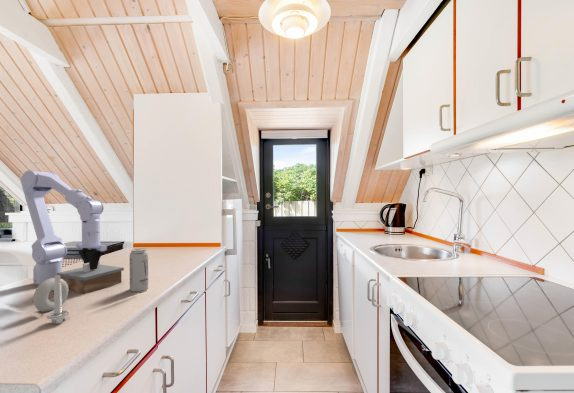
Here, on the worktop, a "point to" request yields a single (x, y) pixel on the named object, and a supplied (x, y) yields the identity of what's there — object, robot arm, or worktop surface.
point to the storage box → (93, 283)
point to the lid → (90, 272)
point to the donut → (43, 292)
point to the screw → (57, 303)
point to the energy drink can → (138, 270)
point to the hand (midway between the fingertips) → (91, 268)
